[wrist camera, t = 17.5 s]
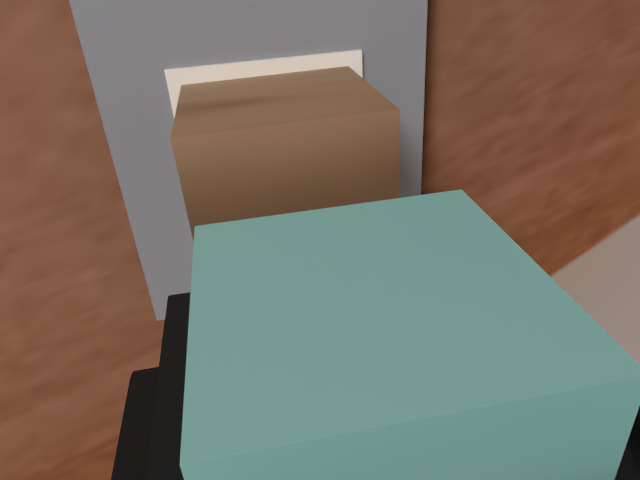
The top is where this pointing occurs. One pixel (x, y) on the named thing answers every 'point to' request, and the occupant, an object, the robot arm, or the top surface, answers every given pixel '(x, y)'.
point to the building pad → (224, 64)
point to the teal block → (393, 353)
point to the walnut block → (284, 145)
